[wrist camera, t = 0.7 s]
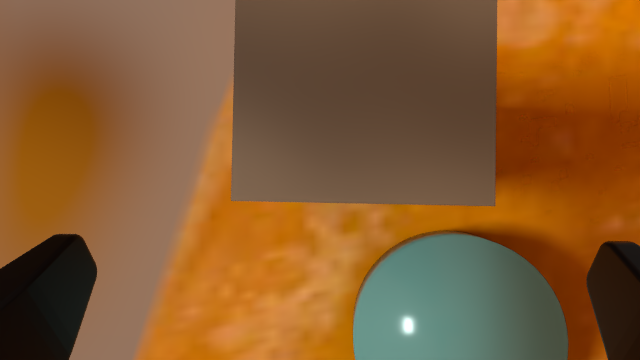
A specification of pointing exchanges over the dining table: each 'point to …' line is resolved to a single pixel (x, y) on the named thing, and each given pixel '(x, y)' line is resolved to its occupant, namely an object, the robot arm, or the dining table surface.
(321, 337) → the dining table surface
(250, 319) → the dining table surface
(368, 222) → the dining table surface
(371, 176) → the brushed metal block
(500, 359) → the teal base
